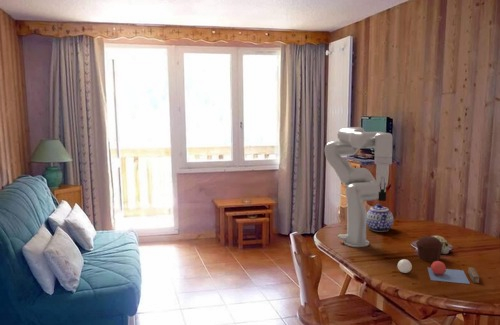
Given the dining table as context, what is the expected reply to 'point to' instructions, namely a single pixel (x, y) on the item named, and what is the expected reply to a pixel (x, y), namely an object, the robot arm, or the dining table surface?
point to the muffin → (429, 248)
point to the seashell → (445, 244)
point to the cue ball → (404, 266)
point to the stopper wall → (473, 275)
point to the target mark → (449, 276)
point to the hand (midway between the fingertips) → (382, 200)
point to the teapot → (379, 218)
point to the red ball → (438, 268)
